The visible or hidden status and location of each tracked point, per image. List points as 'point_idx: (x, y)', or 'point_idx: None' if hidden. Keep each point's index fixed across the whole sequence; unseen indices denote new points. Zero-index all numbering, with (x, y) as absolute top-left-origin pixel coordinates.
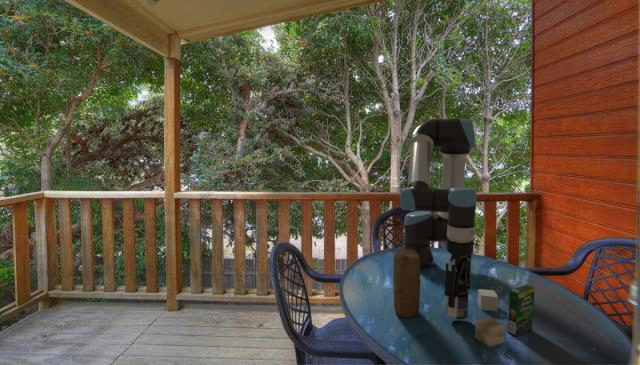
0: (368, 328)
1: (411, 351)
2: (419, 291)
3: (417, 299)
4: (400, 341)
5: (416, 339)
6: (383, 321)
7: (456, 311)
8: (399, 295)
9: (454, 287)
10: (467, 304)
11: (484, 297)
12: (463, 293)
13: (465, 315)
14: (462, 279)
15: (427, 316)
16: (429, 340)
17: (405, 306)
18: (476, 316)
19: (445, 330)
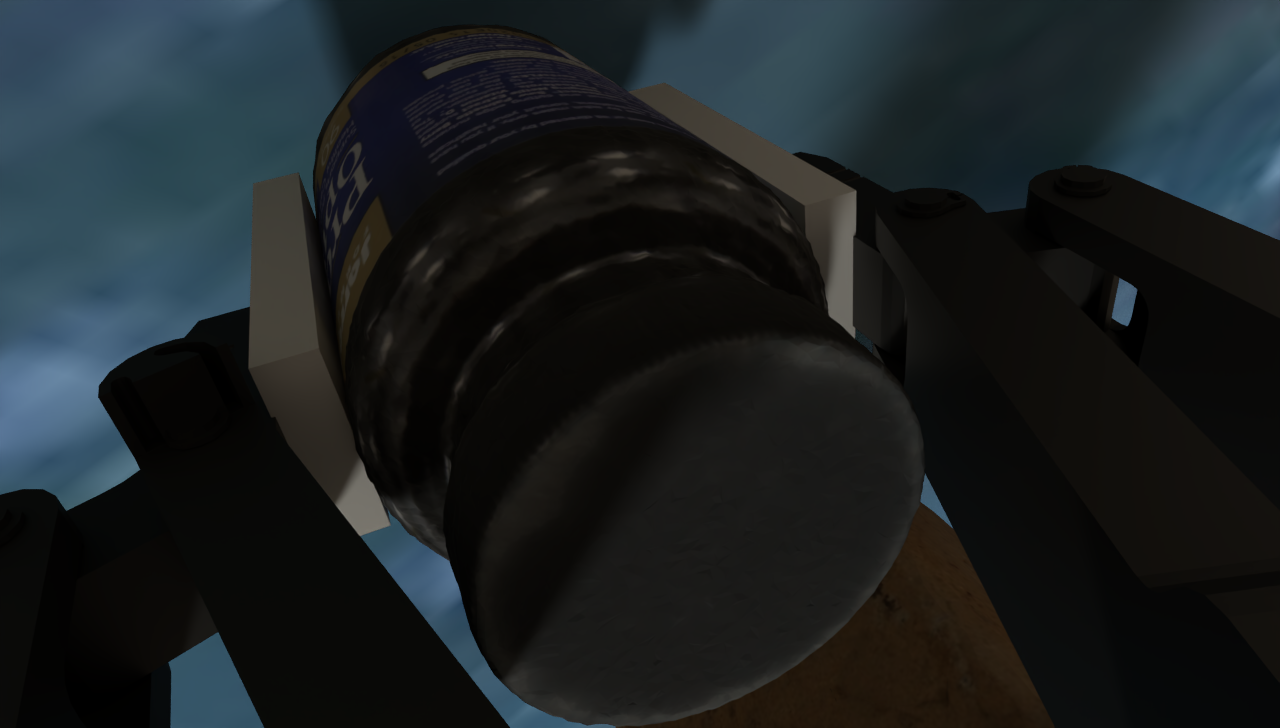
0: None
1: (1274, 28)
2: (963, 619)
3: (917, 540)
4: (1184, 191)
5: (1097, 137)
6: None
7: (708, 110)
8: None
9: (1227, 274)
10: (481, 78)
11: None
12: (721, 184)
13: (497, 31)
14: (502, 590)
15: None
16: (1051, 50)
17: (940, 523)
18: (14, 65)
19: (775, 81)
